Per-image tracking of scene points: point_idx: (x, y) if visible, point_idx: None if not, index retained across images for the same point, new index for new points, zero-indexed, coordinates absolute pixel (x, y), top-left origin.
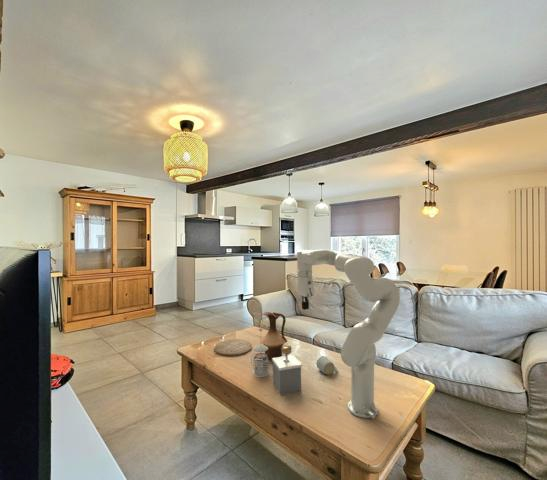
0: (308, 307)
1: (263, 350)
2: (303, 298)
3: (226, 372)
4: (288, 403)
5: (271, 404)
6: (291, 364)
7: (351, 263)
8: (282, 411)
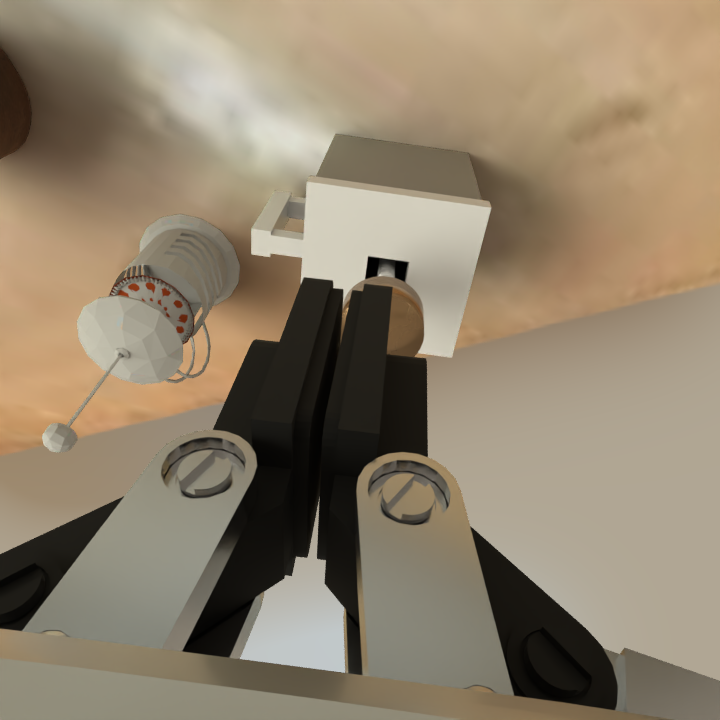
0: (389, 311)
1: (177, 346)
2: (205, 610)
3: (142, 398)
4: (526, 272)
5: (486, 337)
6: (449, 272)
7: None
8: (559, 320)
